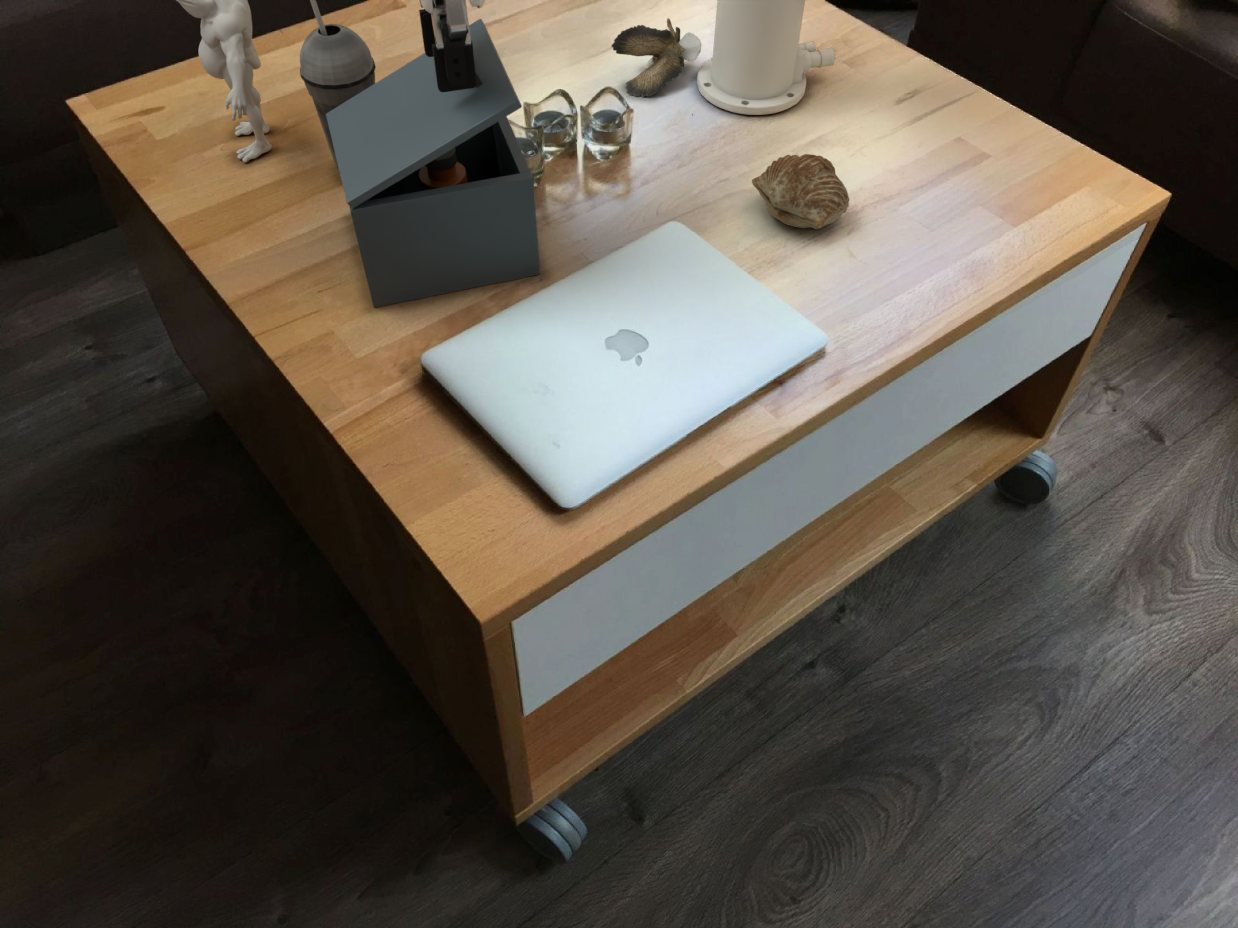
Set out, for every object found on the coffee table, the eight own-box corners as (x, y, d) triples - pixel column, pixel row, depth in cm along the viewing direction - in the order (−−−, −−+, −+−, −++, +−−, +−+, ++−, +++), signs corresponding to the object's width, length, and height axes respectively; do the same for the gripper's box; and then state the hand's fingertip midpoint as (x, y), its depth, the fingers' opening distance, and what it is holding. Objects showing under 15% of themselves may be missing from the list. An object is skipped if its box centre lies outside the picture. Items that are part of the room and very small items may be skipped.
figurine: (220, 103, 116) (167, -59, 102) (280, 95, 117) (236, -67, 103) (225, 196, 105) (167, 29, 91) (292, 186, 107) (244, 19, 93)
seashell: (802, 259, 101) (855, 220, 104) (812, 204, 95) (868, 165, 98) (735, 211, 105) (788, 175, 108) (740, 156, 99) (796, 120, 102)
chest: (506, 190, 106) (496, 94, 98) (540, 274, 98) (533, 177, 89) (352, 218, 103) (328, 121, 95) (373, 307, 95) (350, 210, 86)
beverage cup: (381, 194, 106) (341, 5, 90) (314, 185, 107) (264, -3, 91) (404, 154, 110) (370, -32, 95) (340, 146, 111) (296, -40, 96)
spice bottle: (482, 230, 101) (472, 145, 93) (456, 255, 98) (443, 170, 91) (446, 216, 102) (433, 131, 95) (419, 240, 100) (404, 155, 92)
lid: (484, 25, 92) (456, -22, 88) (522, 107, 84) (493, 59, 80) (330, 120, 95) (296, 78, 91) (352, 209, 86) (315, 167, 82)
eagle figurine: (650, 40, 123) (598, 54, 118) (683, 0, 118) (630, 13, 112) (683, 94, 123) (632, 110, 118) (717, 57, 118) (666, 72, 112)
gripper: (500, -125, 69) (516, 117, 83) (451, -210, 79) (472, 18, 93) (389, -114, 67) (424, 131, 81) (353, -202, 78) (390, 28, 92)
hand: (450, 68), depth 87 cm, fingers closed on lid, 5 cm apart
